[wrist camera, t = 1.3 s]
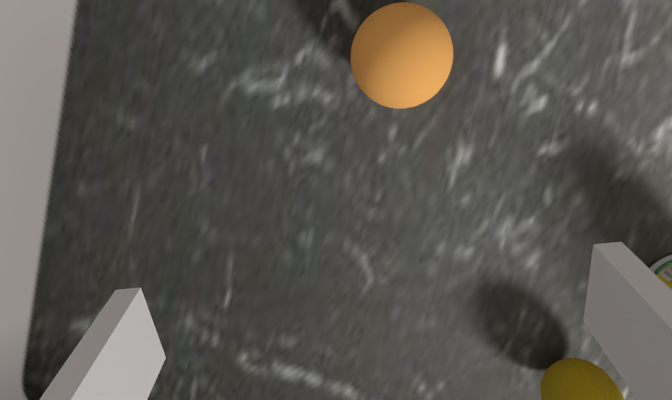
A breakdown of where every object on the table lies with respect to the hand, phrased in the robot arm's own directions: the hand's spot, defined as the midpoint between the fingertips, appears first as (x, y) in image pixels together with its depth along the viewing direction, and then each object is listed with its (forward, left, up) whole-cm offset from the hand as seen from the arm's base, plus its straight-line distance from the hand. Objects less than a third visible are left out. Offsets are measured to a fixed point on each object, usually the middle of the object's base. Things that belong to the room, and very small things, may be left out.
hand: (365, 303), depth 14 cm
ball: (+5, +4, -17) cm, 19 cm away
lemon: (+11, -25, -21) cm, 34 cm away
